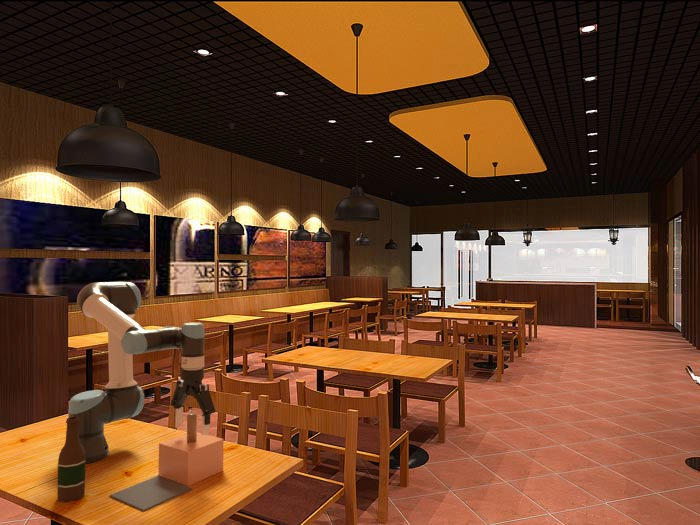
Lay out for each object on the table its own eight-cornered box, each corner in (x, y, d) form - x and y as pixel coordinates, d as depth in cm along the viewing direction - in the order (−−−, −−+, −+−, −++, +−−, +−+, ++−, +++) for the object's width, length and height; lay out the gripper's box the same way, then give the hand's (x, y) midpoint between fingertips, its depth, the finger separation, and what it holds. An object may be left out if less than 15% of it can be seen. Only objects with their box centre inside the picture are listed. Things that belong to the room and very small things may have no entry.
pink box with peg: (158, 475, 165) (159, 415, 166) (194, 461, 178) (194, 405, 178) (187, 486, 157) (188, 423, 158) (223, 470, 170) (223, 412, 170)
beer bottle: (64, 491, 153) (65, 414, 153) (90, 490, 153) (91, 413, 154) (51, 503, 145) (52, 422, 146) (78, 502, 146) (80, 421, 146)
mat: (109, 496, 150) (109, 494, 150) (157, 477, 164) (157, 475, 164) (143, 511, 140) (143, 509, 140) (191, 489, 155) (191, 488, 155)
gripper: (160, 365, 172) (159, 426, 171) (208, 374, 158) (208, 440, 158) (178, 362, 178) (177, 421, 178) (226, 370, 165) (225, 434, 164)
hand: (191, 430), depth 168 cm, fingers open, 13 cm apart
